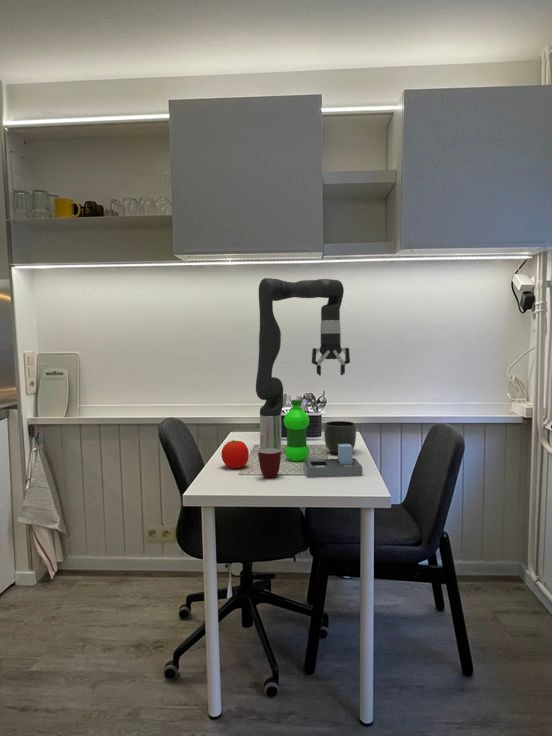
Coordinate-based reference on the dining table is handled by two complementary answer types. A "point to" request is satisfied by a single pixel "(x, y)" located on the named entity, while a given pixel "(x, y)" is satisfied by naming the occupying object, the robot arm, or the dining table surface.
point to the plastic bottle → (296, 432)
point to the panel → (330, 468)
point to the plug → (345, 454)
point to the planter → (339, 434)
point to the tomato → (235, 454)
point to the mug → (269, 462)
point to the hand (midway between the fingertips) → (330, 375)
